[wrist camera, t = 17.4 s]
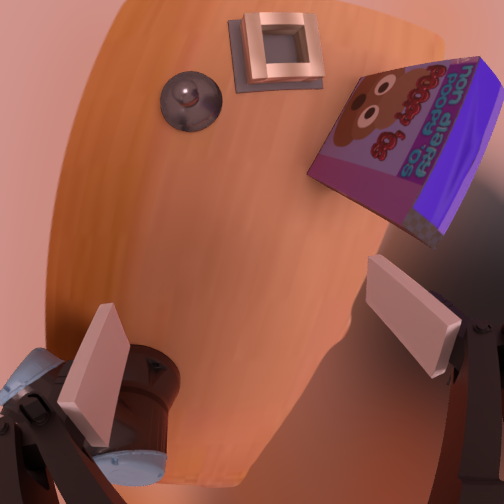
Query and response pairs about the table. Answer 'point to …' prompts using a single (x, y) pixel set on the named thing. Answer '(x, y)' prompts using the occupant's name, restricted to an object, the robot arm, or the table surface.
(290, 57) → the rubber mat
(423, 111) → the cereal box
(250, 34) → the square frame
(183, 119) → the steel stand
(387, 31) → the table surface
